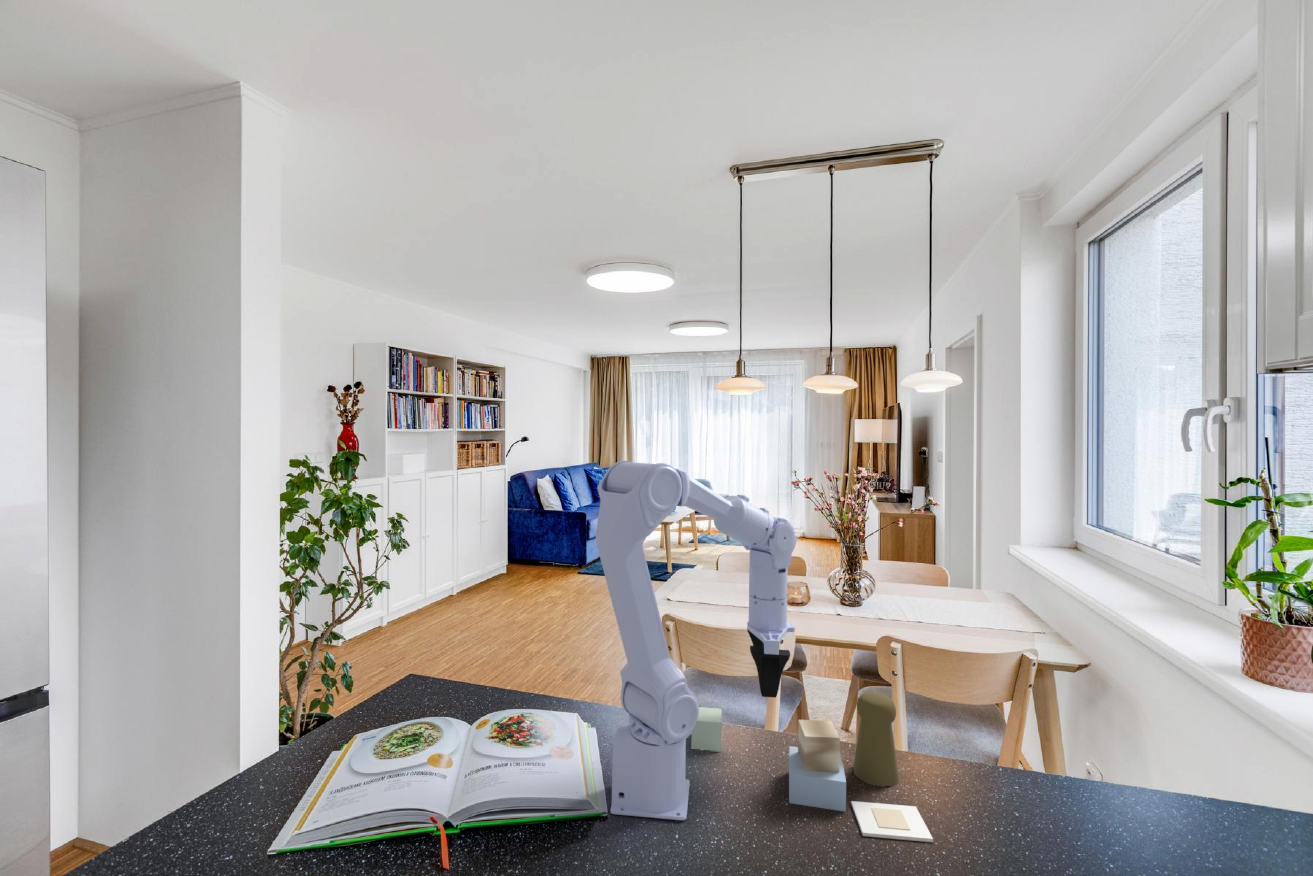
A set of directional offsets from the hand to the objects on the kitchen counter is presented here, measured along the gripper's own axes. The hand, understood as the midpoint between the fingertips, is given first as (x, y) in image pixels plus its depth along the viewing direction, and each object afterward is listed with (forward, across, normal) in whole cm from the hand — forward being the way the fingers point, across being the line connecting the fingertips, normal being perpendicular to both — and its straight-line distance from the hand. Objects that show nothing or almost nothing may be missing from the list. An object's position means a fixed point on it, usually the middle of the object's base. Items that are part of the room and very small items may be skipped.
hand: (766, 685), depth 86 cm
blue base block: (+10, -9, -6) cm, 15 cm away
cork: (+10, -4, -15) cm, 19 cm away
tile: (+10, -14, -14) cm, 22 cm away
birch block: (+6, -9, -6) cm, 12 cm away
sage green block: (+10, +1, +9) cm, 13 cm away
